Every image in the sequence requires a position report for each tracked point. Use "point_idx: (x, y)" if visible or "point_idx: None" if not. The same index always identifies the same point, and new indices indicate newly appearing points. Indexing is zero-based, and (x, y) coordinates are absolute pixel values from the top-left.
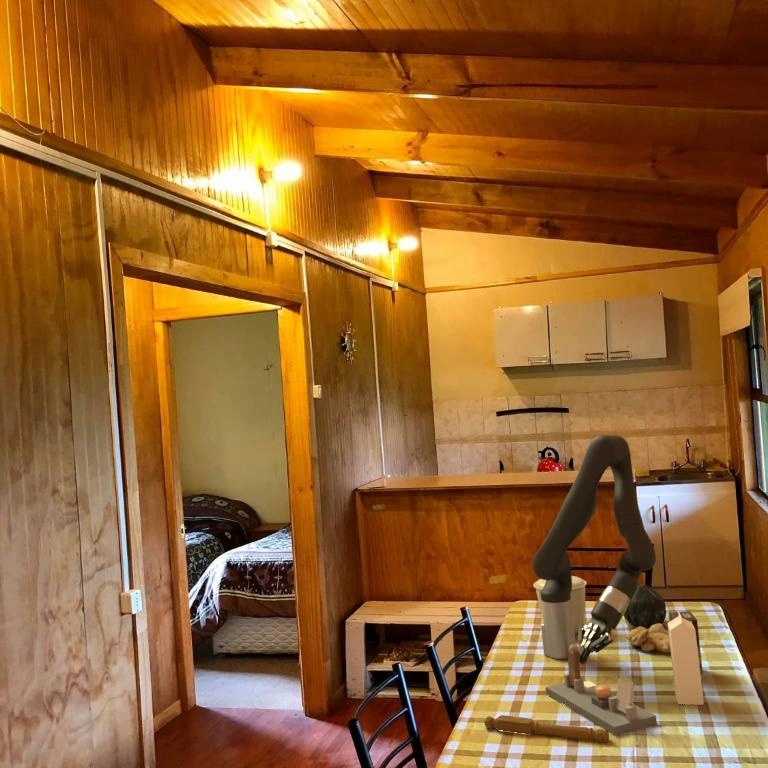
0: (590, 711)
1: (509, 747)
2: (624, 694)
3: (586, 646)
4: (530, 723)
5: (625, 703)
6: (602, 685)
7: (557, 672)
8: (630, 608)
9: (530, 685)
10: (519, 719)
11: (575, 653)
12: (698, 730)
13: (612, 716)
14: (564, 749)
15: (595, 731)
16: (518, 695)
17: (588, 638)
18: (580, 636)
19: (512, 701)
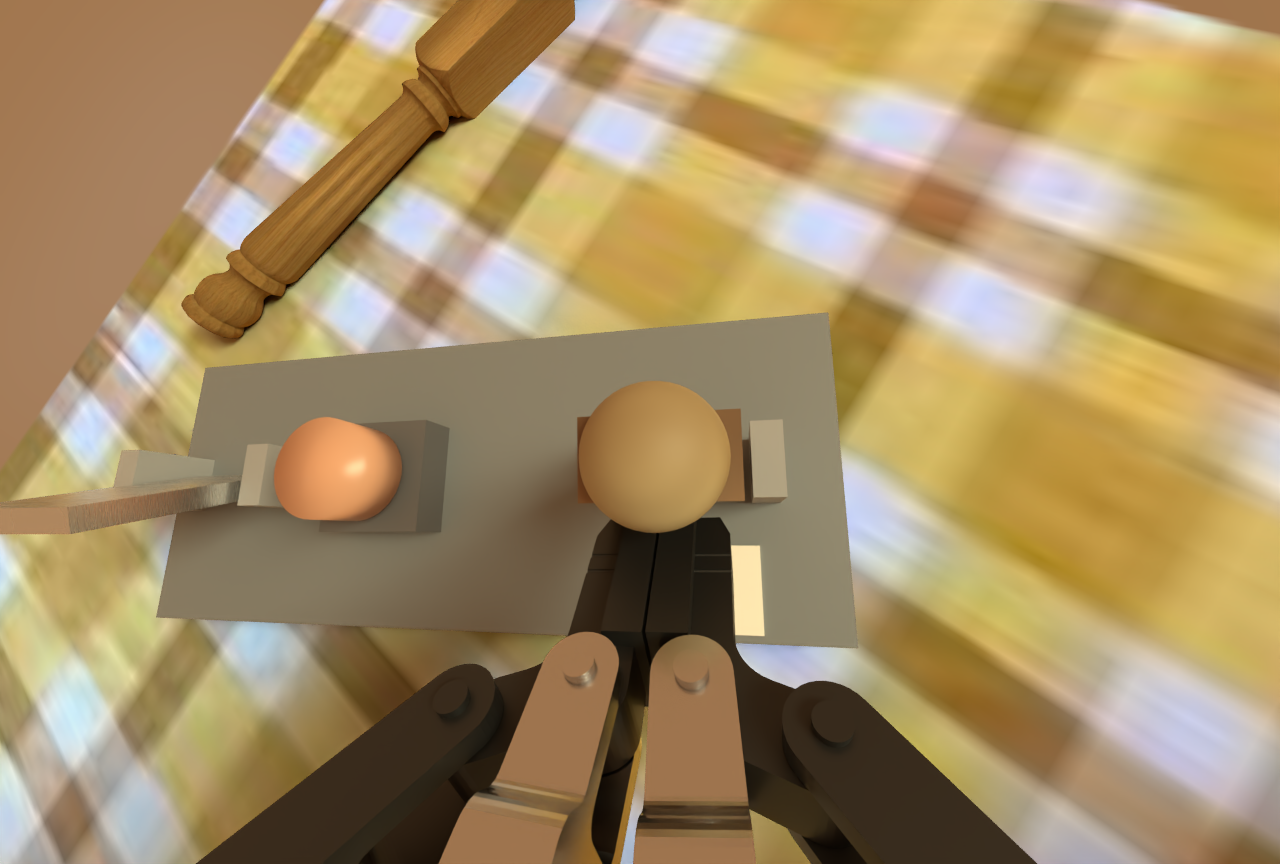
0: (377, 364)
1: (410, 5)
2: (120, 490)
3: (569, 661)
4: (419, 59)
5: (166, 483)
6: (341, 488)
7: (1257, 637)
8: None
9: (1037, 312)
10: (468, 23)
11: (580, 432)
12: (66, 723)
13: (276, 425)
14: (287, 165)
15: (223, 275)
16: (894, 186)
17: (538, 816)
18: (926, 852)
19: (822, 130)
